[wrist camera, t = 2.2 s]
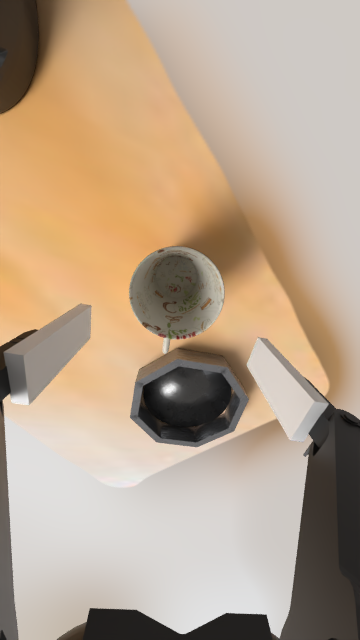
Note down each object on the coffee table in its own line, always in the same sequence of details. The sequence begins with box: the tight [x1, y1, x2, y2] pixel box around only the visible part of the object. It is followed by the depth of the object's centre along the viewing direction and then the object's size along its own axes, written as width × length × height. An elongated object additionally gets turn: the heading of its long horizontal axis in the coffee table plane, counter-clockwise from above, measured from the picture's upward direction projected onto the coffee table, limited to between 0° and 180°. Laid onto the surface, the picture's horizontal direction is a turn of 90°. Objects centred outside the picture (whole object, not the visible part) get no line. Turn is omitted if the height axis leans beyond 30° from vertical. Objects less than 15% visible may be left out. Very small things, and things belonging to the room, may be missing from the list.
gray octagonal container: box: [130, 348, 249, 447], centre depth 32 cm, size 18×18×3 cm
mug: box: [129, 246, 225, 354], centre depth 22 cm, size 8×13×10 cm, turn 172°
